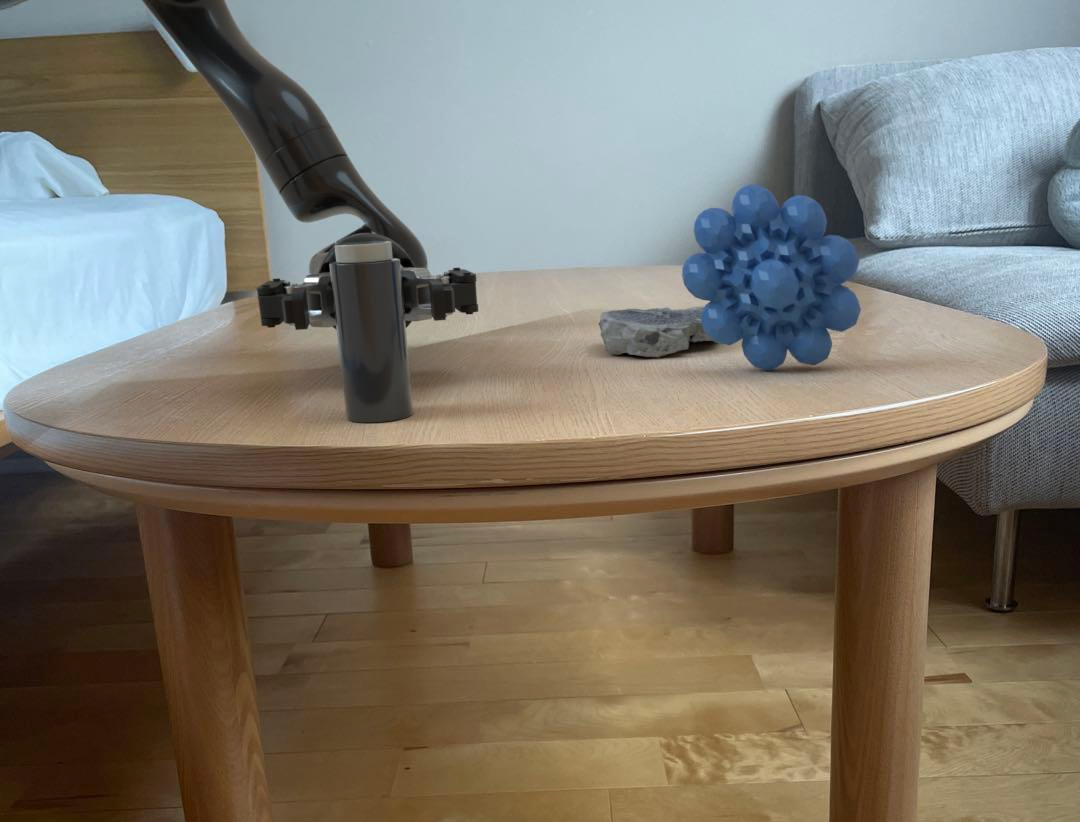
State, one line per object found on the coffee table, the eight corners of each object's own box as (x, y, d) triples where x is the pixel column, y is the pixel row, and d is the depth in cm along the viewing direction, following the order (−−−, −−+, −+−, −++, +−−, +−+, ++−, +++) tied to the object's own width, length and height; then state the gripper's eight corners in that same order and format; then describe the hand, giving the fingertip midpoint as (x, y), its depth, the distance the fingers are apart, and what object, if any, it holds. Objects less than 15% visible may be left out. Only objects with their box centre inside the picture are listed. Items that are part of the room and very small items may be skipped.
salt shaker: (345, 425, 61) (326, 246, 57) (346, 411, 64) (328, 243, 61) (414, 419, 61) (399, 242, 58) (411, 406, 65) (397, 239, 62)
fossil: (684, 321, 74) (569, 289, 79) (671, 377, 76) (559, 342, 81) (749, 317, 84) (642, 288, 88) (736, 366, 85) (632, 336, 90)
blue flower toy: (681, 384, 68) (680, 189, 64) (682, 365, 74) (682, 187, 70) (867, 380, 66) (878, 179, 62) (852, 361, 72) (861, 178, 68)
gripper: (266, 239, 77) (242, 251, 62) (458, 228, 79) (481, 237, 64) (279, 341, 79) (259, 377, 64) (465, 328, 81) (489, 360, 66)
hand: (370, 307), depth 64 cm, fingers open, 8 cm apart
